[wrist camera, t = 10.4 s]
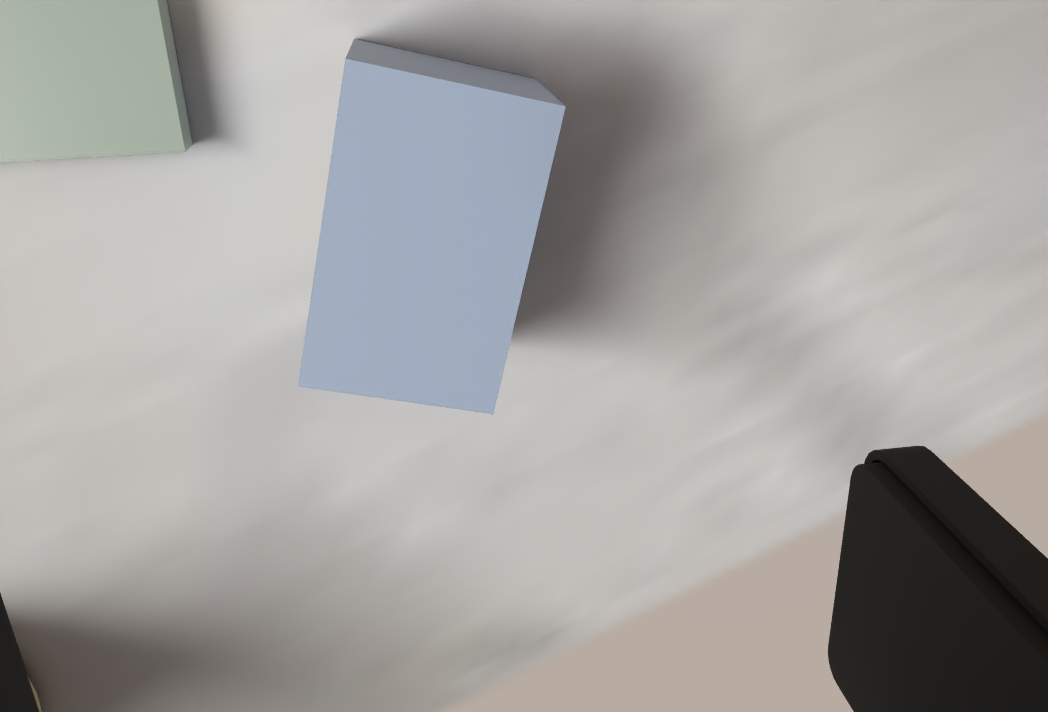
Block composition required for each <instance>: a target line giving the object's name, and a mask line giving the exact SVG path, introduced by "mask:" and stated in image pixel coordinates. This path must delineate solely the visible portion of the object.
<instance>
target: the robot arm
mask: <svg viewBox="0 0 1048 712" xmlns="http://www.w3.org/2000/svg"><path fill="white" fill-rule="evenodd" d="M828 657H829V664H830V668H831V671H832V674H833V677H834V679H835V681H836V683H837V685H838V686H839V688H840V690H841V691H842V693H843V695H844V696H845V698H846V700H847V701H848V703H849V704H850V706H851V708H852V709H853V711H854V712H1048V558H1046V557H1045V556H1044V555H1043V554H1042V553H1041V552H1040V551H1039V550H1038V549H1037V548H1036V547H1034V546H1033V545H1032V544H1031V543H1030V542H1029V541H1028V540H1027V539H1026V538H1025V537H1024V536H1023V535H1022V534H1020V533H1019V532H1018V531H1017V530H1016V529H1015V528H1014V527H1013V526H1012V525H1011V524H1010V523H1008V522H1007V521H1006V520H1005V519H1004V518H1003V517H1002V516H1001V515H1000V514H999V513H998V512H997V511H996V510H994V509H993V508H992V507H991V506H990V505H989V504H988V503H987V502H986V501H985V500H984V499H983V498H981V497H980V496H979V495H978V494H977V493H976V492H975V491H974V490H973V489H972V488H971V487H970V486H968V485H967V484H966V483H965V482H964V481H963V480H962V479H961V478H960V477H959V476H957V474H955V473H954V472H953V471H952V470H951V469H950V468H949V467H948V466H947V465H946V464H945V463H944V462H942V461H941V460H940V459H939V458H938V457H937V456H936V455H935V454H934V453H933V452H932V451H931V450H929V449H927V448H926V447H924V446H911V447H901V448H891V449H881V450H874V451H872V452H870V453H869V454H868V456H867V457H866V459H865V463H864V464H859V465H857V466H855V468H854V469H853V471H852V475H851V480H850V488H849V495H848V503H847V510H846V518H845V525H844V532H843V540H842V547H841V555H840V563H839V570H838V578H837V585H836V592H835V600H834V607H833V615H832V622H831V630H830V637H829V645H828ZM0 712H39V709H38V706H37V703H36V700H35V697H34V694H33V691H32V688H31V685H30V682H29V678H28V675H27V672H26V669H25V666H24V663H23V660H22V657H21V654H20V651H19V648H18V645H17V642H16V639H15V636H14V633H13V630H12V627H11V624H10V621H9V618H8V615H7V612H6V609H5V606H4V603H3V600H2V597H1V594H0Z"/></svg>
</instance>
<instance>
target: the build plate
mask: <svg viewBox="0 0 1048 712" xmlns="http://www.w3.org/2000/svg"><path fill="white" fill-rule="evenodd" d="M191 145H193V143H192V138H191V132H190V126H189V121H188V115H187V110H186V104H185V99H184V93H183V88H182V82H181V76H180V71H179V65H178V60H177V54H176V49H175V43H174V38H173V32H172V26H171V21H170V15H169V10H168V4H167V0H0V162H16V161H33V160H51V159H68V158H85V157H102V156H120V155H137V154H154V153H172V152H185V151H186V150H187V149H188V148H189V147H190V146H191Z"/></svg>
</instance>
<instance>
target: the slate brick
mask: <svg viewBox="0 0 1048 712" xmlns="http://www.w3.org/2000/svg"><path fill="white" fill-rule="evenodd" d="M565 108H566V106H565V105H564V104H563V103H562V102H561V101H559V100H558V99H557V98H556V97H555V96H554V95H553V94H552V93H551V92H550V91H549V90H547V89H546V88H545V87H544V86H543V85H542V84H541V83H540V82H539V81H538V80H537V79H534V78H529V77H525V76H520V75H516V74H511V73H507V72H502V71H498V70H493V69H489V68H484V67H480V66H475V65H471V64H466V63H462V62H457V61H453V60H448V59H444V58H439V57H435V56H430V55H426V54H421V53H417V52H412V51H408V50H403V49H398V48H394V47H389V46H385V45H380V44H376V43H371V42H367V41H362V40H358V39H354V41H353V43H352V45H351V47H350V50H349V52H348V54H347V56H346V59H345V65H344V72H343V79H342V86H341V93H340V100H339V107H338V114H337V121H336V128H335V135H334V142H333V148H332V155H331V162H330V169H329V176H328V183H327V190H326V197H325V204H324V211H323V218H322V225H321V232H320V238H319V245H318V252H317V259H316V266H315V273H314V280H313V287H312V294H311V301H310V308H309V315H308V321H307V328H306V335H305V342H304V349H303V356H302V363H301V370H300V377H299V384H298V386H299V387H306V388H313V389H320V390H327V391H334V392H341V393H348V394H355V395H362V396H369V397H376V398H383V399H390V400H397V401H404V402H411V403H418V404H425V405H432V406H439V407H446V408H453V409H460V410H467V411H474V412H481V413H488V414H493V413H494V409H495V404H496V400H497V396H498V392H499V387H500V383H501V379H502V375H503V370H504V366H505V362H506V358H507V353H508V349H509V345H510V341H511V337H512V332H513V328H514V324H515V320H516V315H517V311H518V307H519V303H520V298H521V294H522V290H523V286H524V281H525V277H526V273H527V269H528V265H529V260H530V256H531V252H532V248H533V243H534V239H535V235H536V231H537V226H538V222H539V218H540V214H541V209H542V205H543V201H544V197H545V193H546V188H547V184H548V180H549V176H550V171H551V167H552V163H553V159H554V154H555V150H556V146H557V142H558V137H559V133H560V129H561V125H562V121H563V116H564V112H565Z"/></svg>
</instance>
